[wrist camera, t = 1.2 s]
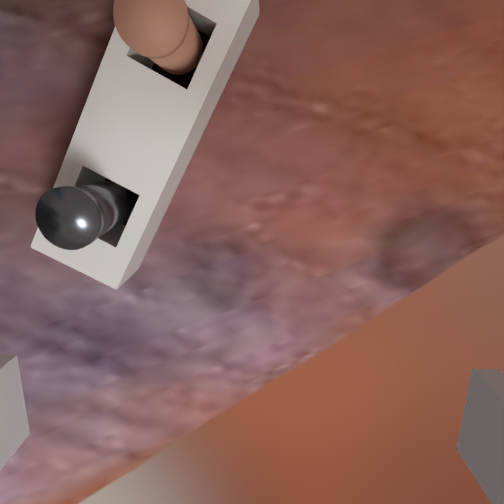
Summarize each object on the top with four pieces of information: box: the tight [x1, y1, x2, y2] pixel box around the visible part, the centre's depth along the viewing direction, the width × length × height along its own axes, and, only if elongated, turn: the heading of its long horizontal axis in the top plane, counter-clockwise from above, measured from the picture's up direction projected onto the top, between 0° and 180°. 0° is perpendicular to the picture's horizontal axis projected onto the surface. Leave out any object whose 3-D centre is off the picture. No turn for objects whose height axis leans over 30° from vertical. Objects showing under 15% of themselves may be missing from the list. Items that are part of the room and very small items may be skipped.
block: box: [31, 0, 259, 290], centre depth 32 cm, size 8×26×6 cm, turn 152°
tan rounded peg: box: [113, 0, 203, 75], centre depth 26 cm, size 4×4×7 cm
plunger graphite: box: [36, 181, 132, 250], centre depth 29 cm, size 4×4×7 cm
